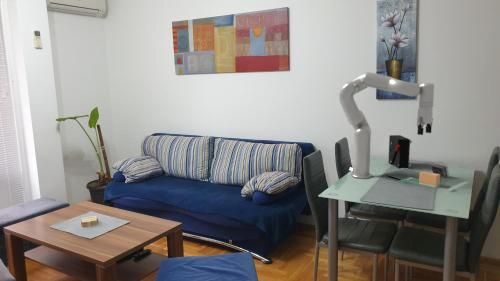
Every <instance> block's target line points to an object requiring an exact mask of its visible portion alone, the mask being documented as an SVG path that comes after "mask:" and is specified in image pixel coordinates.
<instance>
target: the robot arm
mask: <svg viewBox="0 0 500 281" xmlns="http://www.w3.org/2000/svg"><path fill="white" fill-rule="evenodd" d="M367 88H373V89H377V90H381V91H386V92H390V93H396V94H400V95H403V96H409V97H412V98H413V97H416V96H419V99H418V100H419V101H418V110H417V117H416V125H417V133H416V134H417V135H418V136H420V135H421V136H423V135H424V126H425V125H426V126H425V133H426V134H431V133H432V127H433V120H434V117H433V116H434V115H433V108H434V99H435V98H434V95H435V84H434V83H431V82H429V83H427V82H425V83H417V82H416V83H415V82H409V81H406V80H405V81H404V80H401V79H397V78H395V77H392V76H389V75H384V74H379V73H376V72H375V73H374V72H372V71H371V72H370V71H367V72H364V73H363V74H362V75H360V76H358V77H356V78H355V79H353V80H351V81H348V82H346V83H345V84H344V85H343V86H342V88H341V89H340V92H339V96H338V97H339V99H338V100H339V103H340V105H341V107H342V110H343V112H344V114H345V117H346V118H347V122H348V124H350V125H351V126H352V128H353V130H354V137H353V139H354V142H353V143H354V144H353V145H354V146H353V147H354V151H353V153H354V154H353V167H349V169H348V171H349V172H351V175H350V176H351V178H352V177H353V178H356V179H370V178H372V176H373V174H372V173H370V164H371V136H372V128H371V127H370V124H369V122H368V120H367V118H366V116H365V114H364V113H363V111H362V110H361V109H359V106H358V105H357V103H356V101H355V98H354V96H355V95H356V94H357V93H360V92H362V91H364V90H365V89H367Z"/></svg>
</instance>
